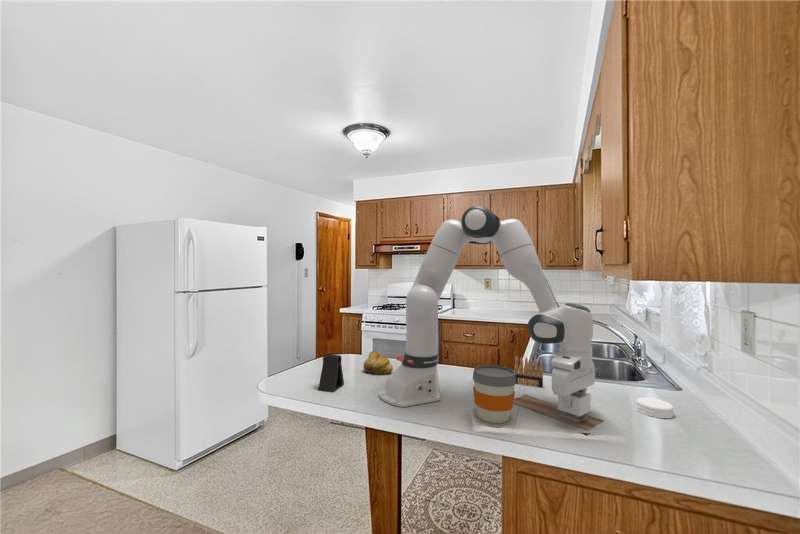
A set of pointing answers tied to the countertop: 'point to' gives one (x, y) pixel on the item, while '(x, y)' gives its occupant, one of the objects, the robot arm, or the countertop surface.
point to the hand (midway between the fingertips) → (574, 404)
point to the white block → (576, 404)
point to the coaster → (654, 407)
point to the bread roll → (377, 364)
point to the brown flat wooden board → (557, 412)
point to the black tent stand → (331, 373)
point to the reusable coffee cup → (494, 392)
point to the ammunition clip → (532, 378)
